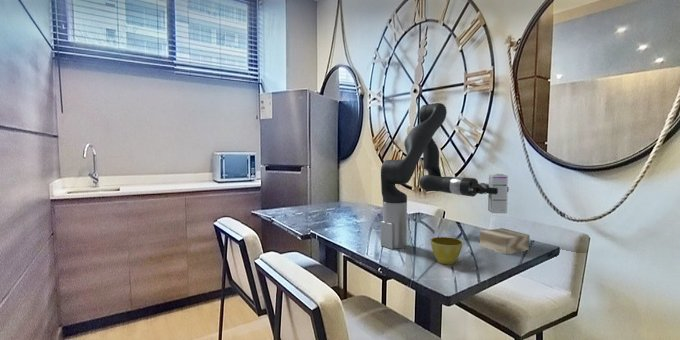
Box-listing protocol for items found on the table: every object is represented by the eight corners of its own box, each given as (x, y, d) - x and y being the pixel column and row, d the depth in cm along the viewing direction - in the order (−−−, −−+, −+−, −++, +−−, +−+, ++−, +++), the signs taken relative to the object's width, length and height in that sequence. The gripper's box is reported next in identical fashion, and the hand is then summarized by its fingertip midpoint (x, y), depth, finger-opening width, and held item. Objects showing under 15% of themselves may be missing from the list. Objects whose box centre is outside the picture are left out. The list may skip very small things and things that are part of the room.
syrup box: (507, 213, 131) (508, 175, 130) (490, 213, 132) (492, 174, 131) (503, 210, 136) (504, 173, 135) (487, 210, 137) (488, 173, 136)
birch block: (505, 255, 124) (506, 238, 124) (479, 246, 135) (480, 231, 135) (529, 250, 129) (529, 235, 129) (501, 242, 140) (502, 228, 140)
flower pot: (464, 268, 110) (464, 245, 110) (431, 266, 112) (431, 244, 112) (459, 258, 120) (459, 237, 120) (429, 256, 122) (429, 236, 121)
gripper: (454, 178, 140) (493, 181, 127) (473, 176, 149) (511, 179, 136) (453, 197, 140) (493, 202, 128) (472, 193, 149) (511, 198, 137)
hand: (502, 190), depth 132 cm, fingers closed on syrup box, 8 cm apart
